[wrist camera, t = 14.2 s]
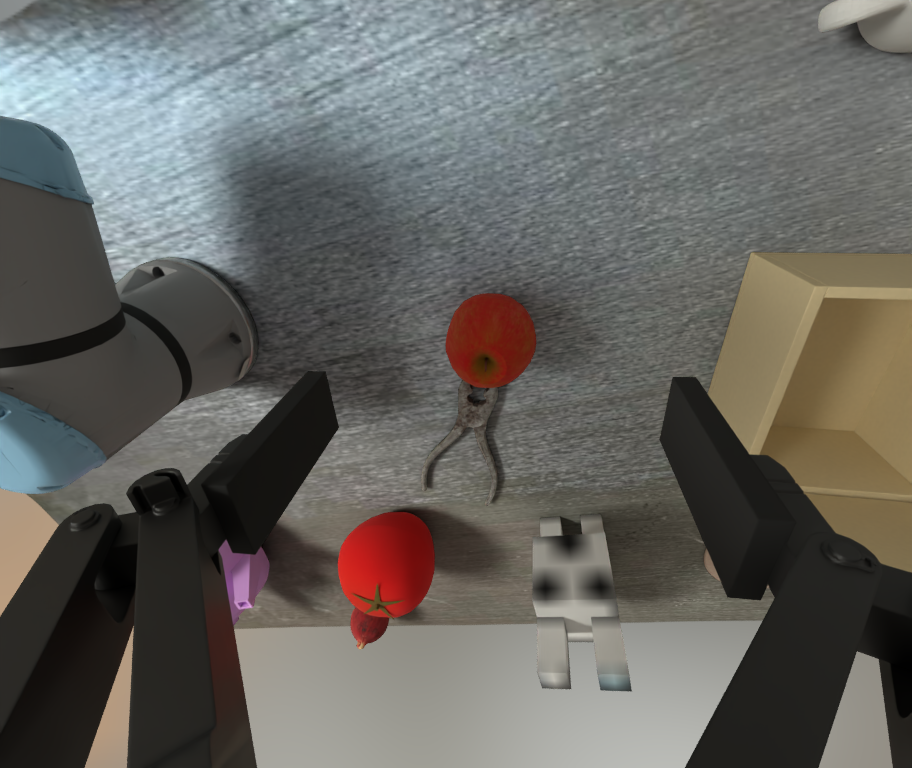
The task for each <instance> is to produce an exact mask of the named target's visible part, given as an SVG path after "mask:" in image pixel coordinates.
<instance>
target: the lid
mask: <svg viewBox="0 0 912 768" xmlns="http://www.w3.org/2000/svg"><path fill="white" fill-rule="evenodd" d="M806 495H807V497H808V498H809V499H810V500H811V502H812V503H813V504H814V506H815V507H816V508H817V509H818V511H819V512H820V513H821V515H822V516H823V517H824V518H825V520H826V521H827V522H828V524H829V525H830V526H831V528H832V529H833V530H834V531H835V533H837V534H840V535H843V536H845V537H848V538H851V539H853V540H854V541H856V542H858V543H860V544H862V545H863V546H865V547H866V548H867V549H868V550H869V551H871V552H872V553H873V554H874V555H875V556H876V557H877V559H878V560H879V562H880V563H881V564H884V565H887V566H891V567H894V568H898V569H901V570H905V571H908V572H912V503H908V502H896V501H884V500H873V499H861V498H849V497H838V496H826V495H814V494H806Z"/></svg>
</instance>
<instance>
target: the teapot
mask: <svg viewBox="0 0 912 768" xmlns="http://www.w3.org/2000/svg"><path fill="white" fill-rule="evenodd" d="M219 552H220V554H221V556H222V560H223V566H224V572H225V578H226V584H227V590H228V596H229V603H230V609H231V615H232V621H233V626H234V625H235V623H236V622H237V621H238V619H239V615H240V614H241V613H242V612H243V611H244V610H245V609H246V608H253V606H254V602H255V597H256V596H257V594H258V593H259V592H260V590H261V589H262V588H263V586H264V584H265V583H266V581H267V578H268V574H269V567H270V564H269V561H268V559H267V556H266V554H265V553H264V551H263V549H262V547H260V549H259V550H258V552H257V553H256V555H250V554H239V553H232V551H231V549H230V547H229V544H228V542H227V540H225V542H224V543H223V544H222V546H221V547H220V548H219Z"/></svg>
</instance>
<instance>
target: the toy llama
mask: <svg viewBox="0 0 912 768" xmlns="http://www.w3.org/2000/svg"><path fill="white" fill-rule="evenodd" d="M580 518H581V526H582V534H578V535H563V529H562V524H561V519H560V517H547V518H540V537H533V604H534V608H535V611H536V615H537V673H538V676H539V679H540V683H541V686H542V688H551V689H571V683H570V667H569V651H568V642H594V648H595V656H596V665H597V673H598V679H599V684H600V689H601V690H608V691H632V690H631V684H630V677H629V671H628V665H627V659H626V654H625V648H624V642H623V636H622V630H621V625H620V619H619V612H618V606H617V599H616V593H615V587H614V582H613V576H612V570H611V565H610V559H609V553H608V547H607V542H606V536H605V533H604V529H603V523H602V517H601V514H590V515H580Z"/></svg>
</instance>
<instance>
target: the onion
mask: <svg viewBox="0 0 912 768" xmlns="http://www.w3.org/2000/svg"><path fill="white" fill-rule="evenodd" d="M363 614H364V612H362V611H360V610H359V609H358V608H356V607H355V609H354V610H353V613H352V615H351V630H352V633H353V635H354V637H355V639H356V640H357V641H358V644H357V647H358V649H363V648H364V646H365V645H366V644H367V643H372V642H374V641H376V640H377V639H379V638H380V637H381V636H382V635H383V634H384V632H385V631H386V628H387V626H388V622H389V618H388V617H377V616H371V615H368V614H364V615H363Z"/></svg>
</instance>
